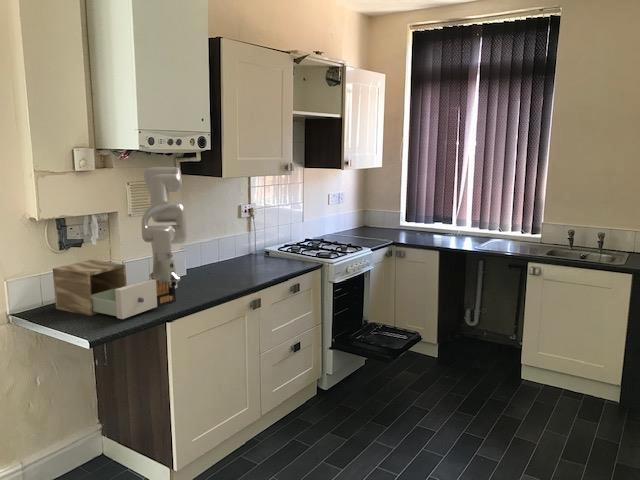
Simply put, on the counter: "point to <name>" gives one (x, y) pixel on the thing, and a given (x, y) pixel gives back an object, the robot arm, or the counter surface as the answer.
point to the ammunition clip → (164, 294)
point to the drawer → (126, 299)
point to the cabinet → (85, 284)
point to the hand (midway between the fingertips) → (165, 293)
